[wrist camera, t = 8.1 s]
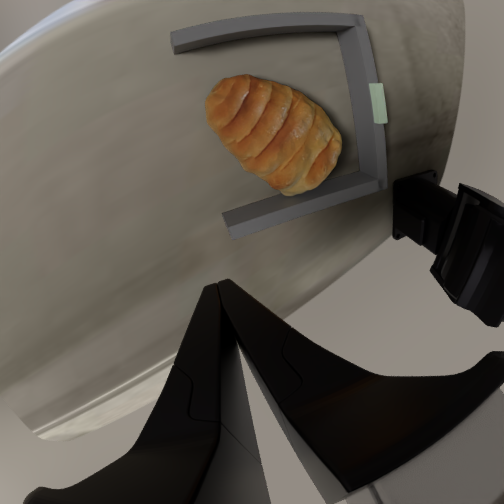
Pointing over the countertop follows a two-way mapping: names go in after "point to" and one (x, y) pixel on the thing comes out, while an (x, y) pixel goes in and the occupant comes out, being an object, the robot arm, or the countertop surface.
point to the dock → (362, 98)
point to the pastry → (274, 132)
